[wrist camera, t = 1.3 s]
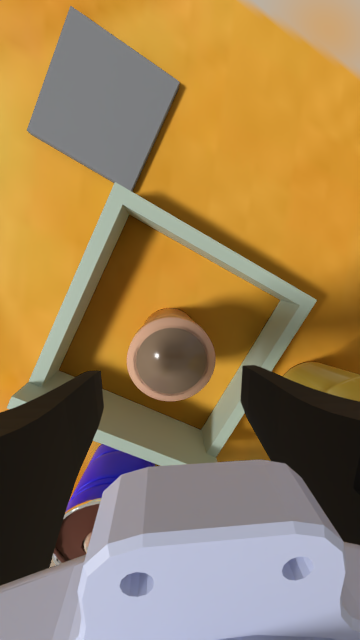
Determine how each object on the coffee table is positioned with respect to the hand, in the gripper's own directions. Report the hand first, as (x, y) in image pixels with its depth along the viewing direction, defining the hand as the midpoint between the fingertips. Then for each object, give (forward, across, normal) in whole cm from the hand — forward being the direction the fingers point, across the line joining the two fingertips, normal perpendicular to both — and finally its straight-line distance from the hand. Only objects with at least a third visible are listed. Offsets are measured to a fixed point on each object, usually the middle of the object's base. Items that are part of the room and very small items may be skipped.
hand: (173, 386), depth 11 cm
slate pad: (+9, +4, -17) cm, 20 cm away
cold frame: (+9, 0, 0) cm, 9 cm away
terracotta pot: (+10, 0, 0) cm, 10 cm away
